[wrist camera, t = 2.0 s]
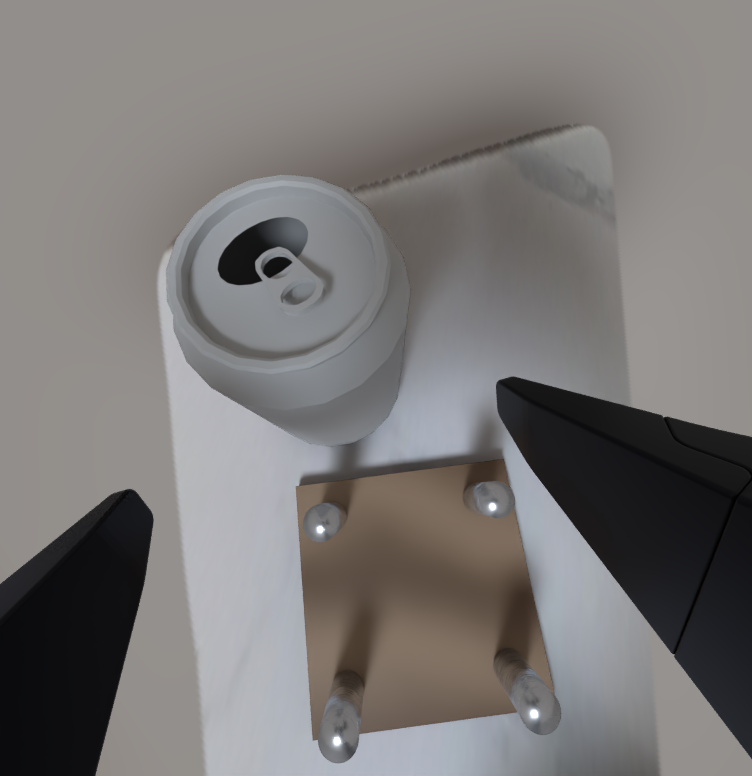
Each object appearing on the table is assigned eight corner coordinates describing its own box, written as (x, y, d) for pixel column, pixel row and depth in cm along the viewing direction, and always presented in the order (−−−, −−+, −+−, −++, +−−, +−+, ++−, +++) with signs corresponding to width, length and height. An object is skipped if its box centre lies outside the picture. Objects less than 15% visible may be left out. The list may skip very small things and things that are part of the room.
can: (349, 301, 23) (312, 109, 11) (425, 395, 21) (473, 282, 10) (246, 372, 22) (89, 239, 10) (318, 476, 20) (226, 458, 9)
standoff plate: (551, 699, 17) (600, 761, 13) (315, 731, 17) (294, 804, 13) (500, 459, 20) (528, 452, 16) (298, 486, 20) (276, 485, 16)
